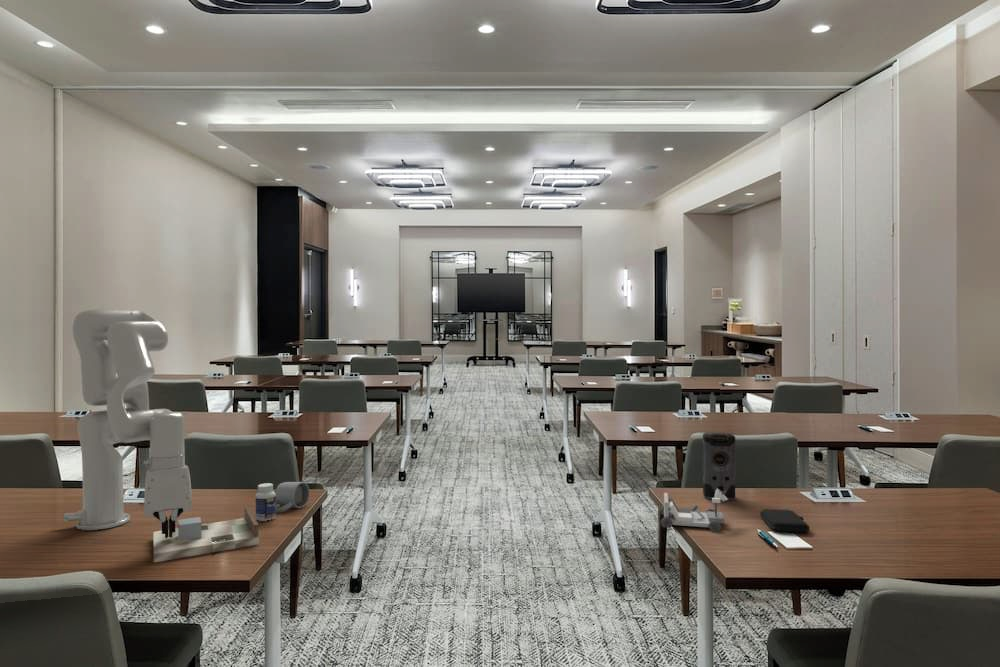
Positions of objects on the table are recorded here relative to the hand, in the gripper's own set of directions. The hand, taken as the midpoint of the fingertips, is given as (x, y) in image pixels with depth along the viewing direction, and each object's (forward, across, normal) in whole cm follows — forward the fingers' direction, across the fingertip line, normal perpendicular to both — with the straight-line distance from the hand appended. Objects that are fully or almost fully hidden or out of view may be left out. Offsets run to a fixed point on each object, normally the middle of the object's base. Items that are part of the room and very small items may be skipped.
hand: (168, 535), depth 151 cm
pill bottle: (+3, +25, +12) cm, 28 cm away
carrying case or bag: (+4, +147, -66) cm, 161 cm away
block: (+1, +5, 0) cm, 5 cm away
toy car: (+4, +127, -52) cm, 137 cm away
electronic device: (+4, +153, -38) cm, 158 cm away
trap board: (+3, +8, 0) cm, 9 cm away
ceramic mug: (+3, +32, +20) cm, 38 cm away
